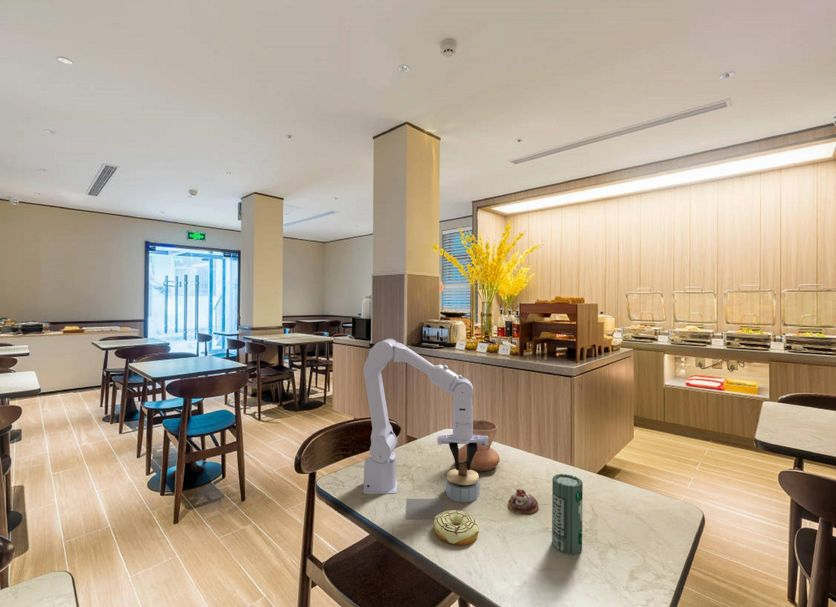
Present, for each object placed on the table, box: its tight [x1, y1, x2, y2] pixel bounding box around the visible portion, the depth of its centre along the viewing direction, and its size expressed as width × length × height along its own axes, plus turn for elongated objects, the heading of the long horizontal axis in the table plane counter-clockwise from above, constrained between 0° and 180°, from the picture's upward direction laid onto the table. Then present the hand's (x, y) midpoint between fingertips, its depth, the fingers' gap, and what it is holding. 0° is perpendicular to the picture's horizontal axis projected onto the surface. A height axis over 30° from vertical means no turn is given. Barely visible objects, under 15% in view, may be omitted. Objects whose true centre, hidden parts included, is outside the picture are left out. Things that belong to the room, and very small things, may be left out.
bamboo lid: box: [446, 461, 480, 485], centre depth 110 cm, size 9×9×4 cm
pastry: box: [507, 488, 539, 515], centre depth 104 cm, size 8×8×5 cm
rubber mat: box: [405, 498, 445, 520], centre depth 102 cm, size 10×10×1 cm
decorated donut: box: [432, 509, 480, 546], centre depth 91 cm, size 10×11×4 cm
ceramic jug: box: [458, 418, 500, 472], centre depth 130 cm, size 18×14×14 cm
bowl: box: [445, 477, 480, 503], centre depth 110 cm, size 9×9×4 cm
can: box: [551, 473, 584, 556], centre depth 87 cm, size 6×6×15 cm
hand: (462, 468), depth 110 cm, fingers closed on bamboo lid, 3 cm apart
